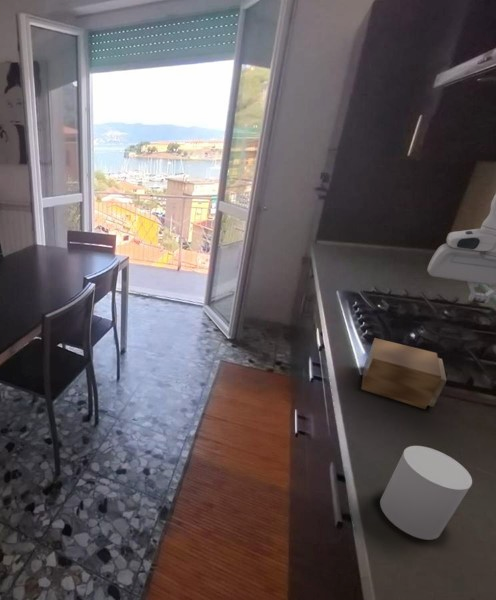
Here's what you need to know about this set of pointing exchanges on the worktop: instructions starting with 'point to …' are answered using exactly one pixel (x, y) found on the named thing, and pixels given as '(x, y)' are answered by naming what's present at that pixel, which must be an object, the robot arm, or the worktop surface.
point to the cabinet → (401, 373)
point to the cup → (424, 492)
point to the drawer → (440, 384)
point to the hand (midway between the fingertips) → (477, 301)
